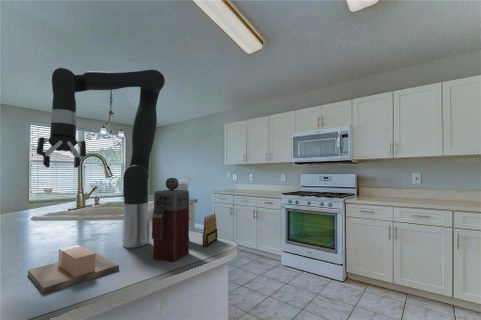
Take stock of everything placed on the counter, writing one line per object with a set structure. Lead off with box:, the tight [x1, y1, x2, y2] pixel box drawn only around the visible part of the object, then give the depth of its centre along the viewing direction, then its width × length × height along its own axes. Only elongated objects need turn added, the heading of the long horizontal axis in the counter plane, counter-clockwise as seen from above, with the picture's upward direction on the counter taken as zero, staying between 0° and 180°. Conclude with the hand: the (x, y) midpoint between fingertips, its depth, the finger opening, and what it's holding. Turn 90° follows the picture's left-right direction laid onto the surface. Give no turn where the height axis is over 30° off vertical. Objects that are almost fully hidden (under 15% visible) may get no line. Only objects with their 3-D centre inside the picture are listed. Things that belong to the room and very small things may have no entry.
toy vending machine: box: [151, 177, 190, 263], centre depth 82 cm, size 9×11×28 cm
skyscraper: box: [174, 177, 191, 243], centre depth 101 cm, size 8×8×28 cm
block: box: [57, 244, 97, 277], centre depth 69 cm, size 5×5×14 cm
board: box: [27, 252, 120, 295], centre depth 70 cm, size 18×18×2 cm
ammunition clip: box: [202, 212, 218, 249], centre depth 98 cm, size 11×2×12 cm, turn 161°
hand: (62, 167), depth 85 cm, fingers open, 8 cm apart
